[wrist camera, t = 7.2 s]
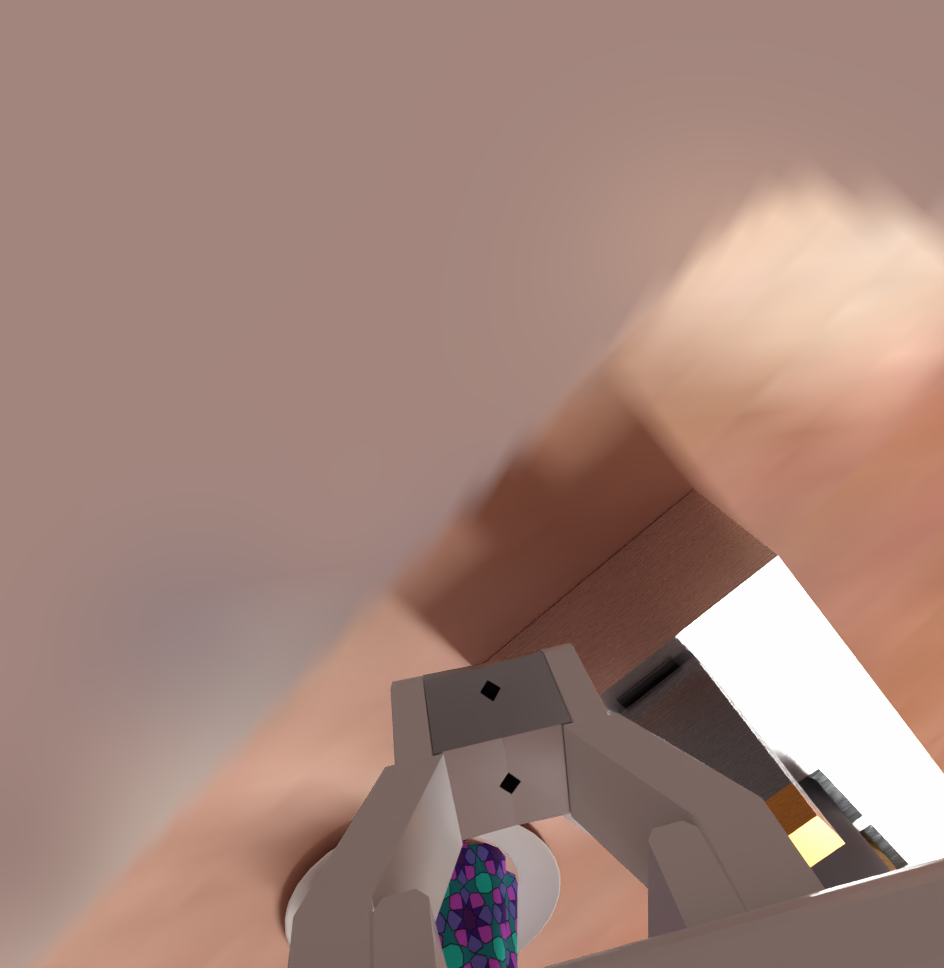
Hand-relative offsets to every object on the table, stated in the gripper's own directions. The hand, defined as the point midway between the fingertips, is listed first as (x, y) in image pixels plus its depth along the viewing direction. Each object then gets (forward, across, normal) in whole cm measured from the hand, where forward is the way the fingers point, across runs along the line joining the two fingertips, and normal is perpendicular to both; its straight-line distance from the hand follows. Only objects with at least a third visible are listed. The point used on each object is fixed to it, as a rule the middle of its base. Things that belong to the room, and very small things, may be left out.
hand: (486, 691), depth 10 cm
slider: (+5, -5, +6) cm, 9 cm away
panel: (+9, -10, +13) cm, 19 cm away
